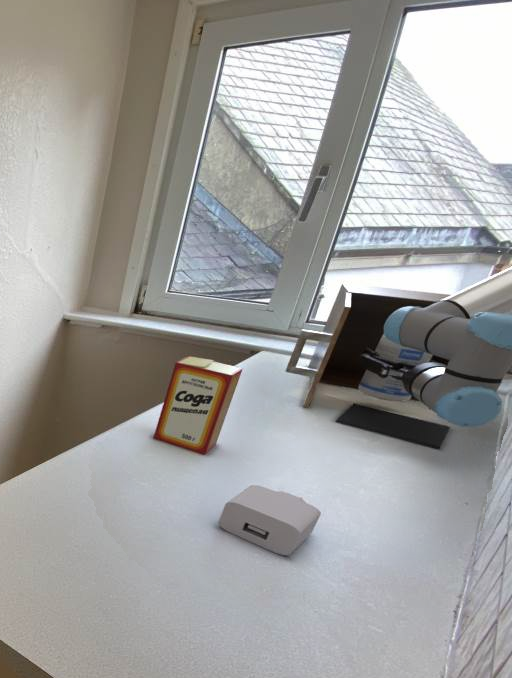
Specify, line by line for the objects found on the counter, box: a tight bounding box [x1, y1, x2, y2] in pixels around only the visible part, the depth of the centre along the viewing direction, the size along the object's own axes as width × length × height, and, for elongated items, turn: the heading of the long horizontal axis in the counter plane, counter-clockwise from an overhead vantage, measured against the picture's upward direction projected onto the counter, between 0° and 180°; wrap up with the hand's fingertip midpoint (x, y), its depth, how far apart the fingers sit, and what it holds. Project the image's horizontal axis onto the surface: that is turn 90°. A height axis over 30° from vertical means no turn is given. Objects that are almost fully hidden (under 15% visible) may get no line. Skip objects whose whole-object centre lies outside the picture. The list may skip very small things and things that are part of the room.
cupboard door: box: [285, 293, 351, 408], centre depth 134 cm, size 7×26×23 cm, turn 141°
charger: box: [218, 484, 321, 556], centre depth 80 cm, size 5×9×15 cm
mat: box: [335, 403, 451, 450], centre depth 120 cm, size 17×17×1 cm
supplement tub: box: [358, 335, 432, 402], centre depth 125 cm, size 10×10×15 cm
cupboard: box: [308, 283, 452, 402], centre depth 142 cm, size 18×26×24 cm
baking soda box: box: [152, 355, 244, 456], centre depth 104 cm, size 10×6×16 cm
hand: (391, 357), depth 128 cm, fingers closed on supplement tub, 9 cm apart
